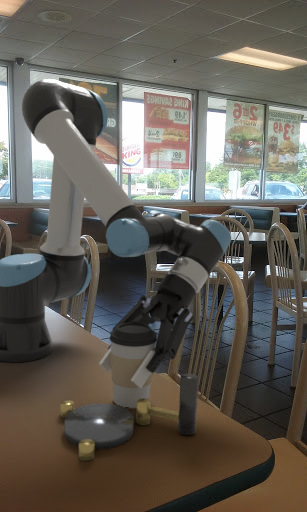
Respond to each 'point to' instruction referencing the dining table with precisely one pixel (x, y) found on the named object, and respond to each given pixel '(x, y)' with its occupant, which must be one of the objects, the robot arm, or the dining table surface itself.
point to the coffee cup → (130, 361)
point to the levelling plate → (96, 426)
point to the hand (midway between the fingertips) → (119, 375)
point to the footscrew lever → (186, 407)
